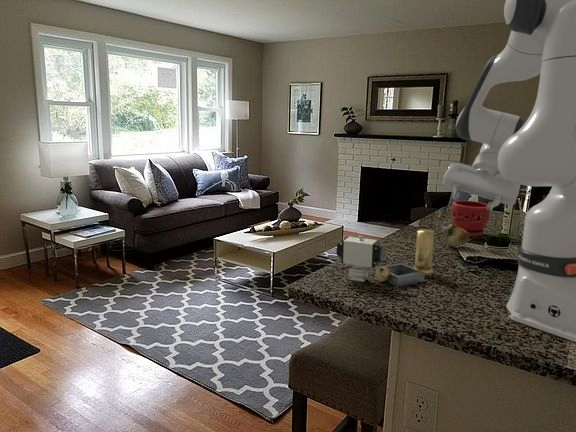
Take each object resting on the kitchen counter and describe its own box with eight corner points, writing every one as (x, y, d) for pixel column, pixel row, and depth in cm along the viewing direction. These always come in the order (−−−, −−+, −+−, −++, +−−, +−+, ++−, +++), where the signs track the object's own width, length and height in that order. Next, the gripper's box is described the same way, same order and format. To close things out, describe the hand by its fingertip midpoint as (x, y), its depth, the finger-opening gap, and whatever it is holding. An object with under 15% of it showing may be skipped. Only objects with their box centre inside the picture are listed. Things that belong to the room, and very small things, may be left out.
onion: (455, 251, 145) (457, 227, 143) (438, 245, 152) (440, 222, 151) (473, 248, 148) (475, 225, 146) (455, 243, 155) (457, 220, 153)
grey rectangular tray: (424, 281, 117) (425, 267, 116) (390, 287, 112) (391, 273, 111) (401, 271, 125) (402, 258, 124) (369, 277, 120) (369, 263, 119)
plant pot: (453, 237, 162) (456, 205, 160) (447, 229, 175) (449, 199, 172) (491, 239, 160) (494, 206, 157) (482, 231, 173) (485, 200, 170)
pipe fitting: (436, 274, 122) (439, 232, 120) (422, 277, 120) (425, 234, 118) (423, 268, 127) (426, 228, 124) (409, 271, 125) (411, 229, 122)
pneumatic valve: (378, 286, 113) (380, 240, 111) (335, 279, 118) (336, 235, 116) (384, 279, 118) (386, 236, 115) (342, 273, 123) (343, 231, 121)
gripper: (453, 152, 132) (436, 184, 125) (527, 172, 123) (512, 207, 116) (450, 168, 137) (433, 198, 130) (521, 188, 128) (507, 222, 121)
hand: (471, 203), depth 123 cm, fingers open, 8 cm apart
